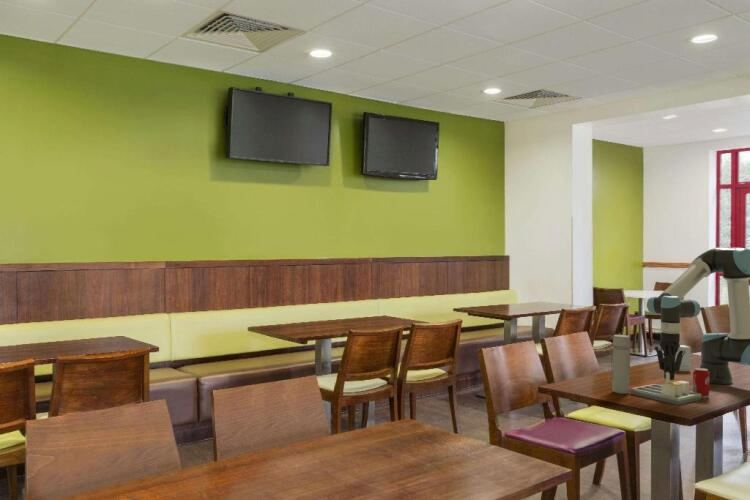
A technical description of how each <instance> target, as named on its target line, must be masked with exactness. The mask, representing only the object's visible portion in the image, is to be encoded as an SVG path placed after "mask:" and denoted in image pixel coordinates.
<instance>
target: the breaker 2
mask: <svg viewBox="0 0 750 500" xmlns="http://www.w3.org/2000/svg"><path fill="white" fill-rule="evenodd" d="M675 382H676V383H681V384H682V393H686V394H689V392H690V389H691V388H690V386H691V385H690V384H691V383H690V382H689V381H686V380H685V381H684V380H677V381H675Z"/></svg>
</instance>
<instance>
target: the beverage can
mask: <svg viewBox="0 0 750 500" xmlns="http://www.w3.org/2000/svg"><path fill="white" fill-rule="evenodd" d="M692 392H695V393H700V394H701V399H707V398H708V397H710V383H709V372H708V369H705V368H700V367H695V368H694V370H693V371H692Z"/></svg>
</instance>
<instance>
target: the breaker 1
mask: <svg viewBox="0 0 750 500" xmlns="http://www.w3.org/2000/svg"><path fill="white" fill-rule="evenodd" d="M660 385H661V394H662V395H666V396H671V397H675V386H676V385H672V384H667V383H666V382H665V383H662V384H660Z"/></svg>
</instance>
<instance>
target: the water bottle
mask: <svg viewBox="0 0 750 500" xmlns="http://www.w3.org/2000/svg"><path fill="white" fill-rule="evenodd" d="M609 354H610V356H609V358H610V361H609V362H608V365H610V362H611V370H610V368H608V370H607V373H609V371H612V372H611V378H609V377H607V379H608V381H612V382H611V383H612V384H611V385H612V386H611V388H612V389H611V391H613V393H616V394H619V395H620V394H621V395H626V394H629V393H630V390H631V388H630V377H631V376H630V374H631V373H630V371H631V338H630V336H629V335H626V334H614V335H613V339H612V346H610V353H609Z"/></svg>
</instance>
